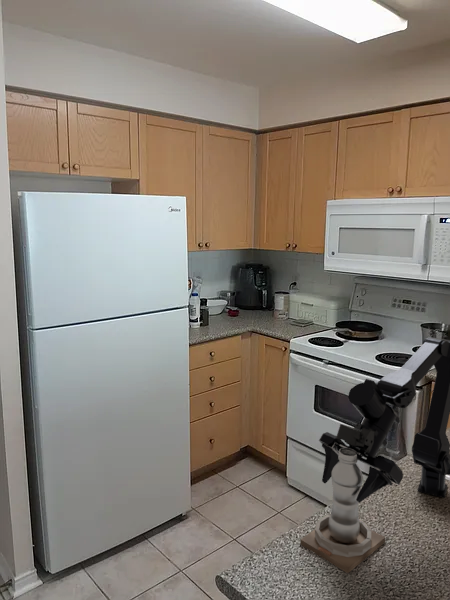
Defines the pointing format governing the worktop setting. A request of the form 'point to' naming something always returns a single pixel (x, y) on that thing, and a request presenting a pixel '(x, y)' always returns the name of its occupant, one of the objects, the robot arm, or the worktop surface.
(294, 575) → the worktop surface
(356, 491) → the silver bottle
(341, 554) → the square coaster with ring
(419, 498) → the worktop surface
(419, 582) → the worktop surface
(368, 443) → the robot arm
